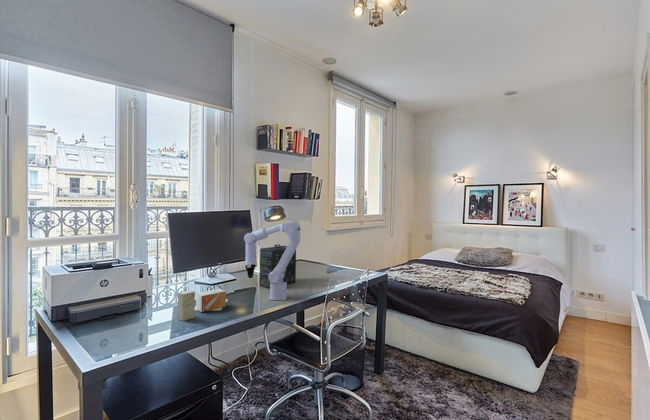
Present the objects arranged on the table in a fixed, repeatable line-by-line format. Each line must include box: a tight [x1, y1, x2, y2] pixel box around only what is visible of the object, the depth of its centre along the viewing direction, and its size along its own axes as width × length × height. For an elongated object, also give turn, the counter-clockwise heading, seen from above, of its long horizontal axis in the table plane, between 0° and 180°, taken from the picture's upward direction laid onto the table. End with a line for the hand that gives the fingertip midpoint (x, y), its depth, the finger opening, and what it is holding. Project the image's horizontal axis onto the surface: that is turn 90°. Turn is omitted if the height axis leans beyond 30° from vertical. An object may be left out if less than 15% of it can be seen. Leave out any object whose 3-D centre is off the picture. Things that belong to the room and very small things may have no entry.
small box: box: [195, 288, 227, 313], centre depth 165 cm, size 8×6×13 cm
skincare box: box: [177, 290, 196, 322], centre depth 151 cm, size 6×4×12 cm
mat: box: [195, 298, 229, 312], centre depth 170 cm, size 14×17×1 cm
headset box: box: [259, 244, 297, 289], centre depth 213 cm, size 22×12×26 cm, turn 144°
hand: (250, 277), depth 187 cm, fingers closed
